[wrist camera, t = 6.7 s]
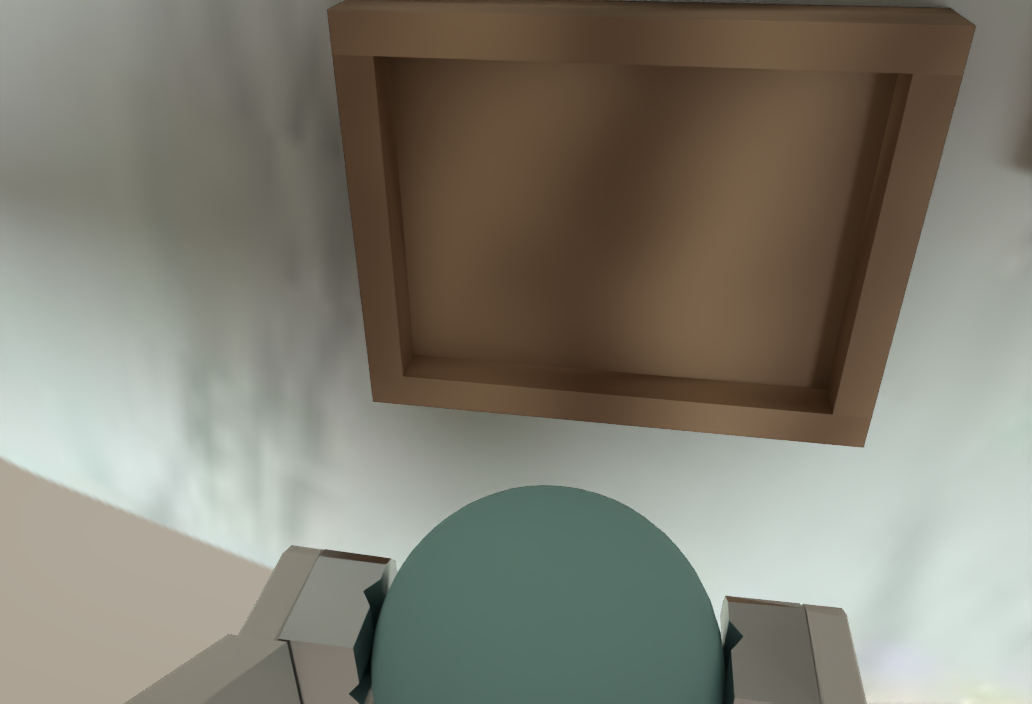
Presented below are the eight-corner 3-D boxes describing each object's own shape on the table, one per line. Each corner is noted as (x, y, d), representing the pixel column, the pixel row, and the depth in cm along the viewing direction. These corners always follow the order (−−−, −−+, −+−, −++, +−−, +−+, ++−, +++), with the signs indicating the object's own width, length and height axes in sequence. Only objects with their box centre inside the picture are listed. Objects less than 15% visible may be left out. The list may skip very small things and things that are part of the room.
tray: (950, 7, 19) (976, 25, 17) (851, 405, 25) (863, 447, 23) (355, -5, 21) (326, 9, 19) (392, 365, 27) (373, 401, 25)
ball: (735, 433, 11) (766, 733, 8) (700, 655, 14) (708, 969, 10) (411, 404, 12) (290, 667, 8) (430, 622, 14) (343, 904, 11)
